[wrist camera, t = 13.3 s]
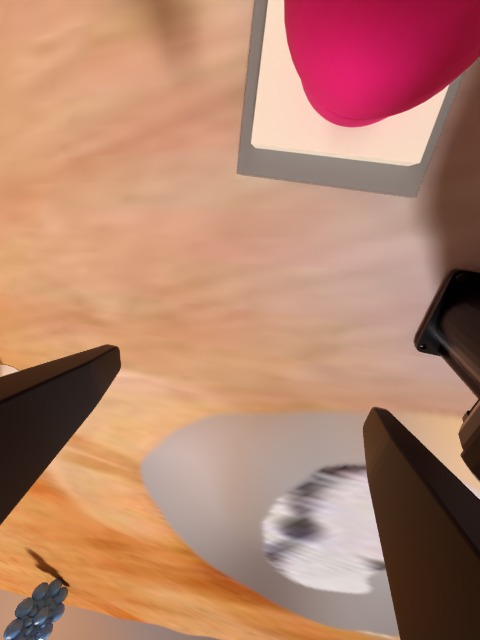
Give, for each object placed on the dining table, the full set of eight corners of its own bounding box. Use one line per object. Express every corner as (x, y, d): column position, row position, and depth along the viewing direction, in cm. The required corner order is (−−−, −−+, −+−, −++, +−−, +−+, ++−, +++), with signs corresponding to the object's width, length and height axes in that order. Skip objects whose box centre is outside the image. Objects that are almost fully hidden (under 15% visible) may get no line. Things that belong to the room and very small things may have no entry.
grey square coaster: (408, 197, 17) (427, 197, 14) (240, 174, 18) (230, 171, 16) (524, -110, 11) (587, -196, 9) (271, -107, 13) (264, -181, 10)
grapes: (33, 564, 61) (-23, 641, 51) (53, 566, 59) (-1, 647, 49) (61, 590, 65) (15, 666, 55) (81, 593, 63) (36, 673, 53)
